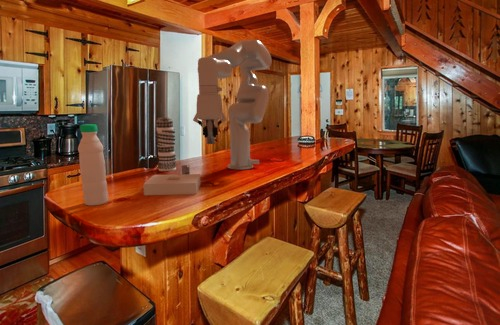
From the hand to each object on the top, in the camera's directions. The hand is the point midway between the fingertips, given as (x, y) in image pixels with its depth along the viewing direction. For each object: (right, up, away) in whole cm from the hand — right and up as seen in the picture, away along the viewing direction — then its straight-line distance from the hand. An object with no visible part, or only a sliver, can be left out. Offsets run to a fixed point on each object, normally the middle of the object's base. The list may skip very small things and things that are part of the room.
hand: (210, 136), depth 122 cm
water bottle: (-33, -24, -26) cm, 48 cm away
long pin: (0, -3, +1) cm, 3 cm away
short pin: (-11, -17, +6) cm, 22 cm away
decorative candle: (-24, -14, +25) cm, 38 cm away
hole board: (-12, -20, -11) cm, 26 cm away
